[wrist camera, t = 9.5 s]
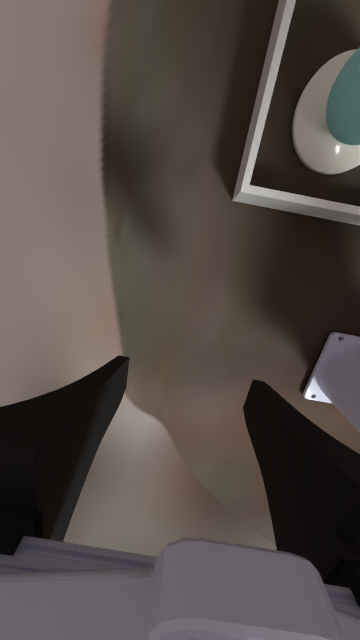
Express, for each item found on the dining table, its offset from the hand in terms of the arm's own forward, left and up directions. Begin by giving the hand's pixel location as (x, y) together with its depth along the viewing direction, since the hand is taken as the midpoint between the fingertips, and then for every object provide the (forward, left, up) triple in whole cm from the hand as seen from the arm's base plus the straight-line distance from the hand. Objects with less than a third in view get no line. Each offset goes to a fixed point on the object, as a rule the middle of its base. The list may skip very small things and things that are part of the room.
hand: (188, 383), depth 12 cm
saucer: (-8, -18, -10) cm, 22 cm away
